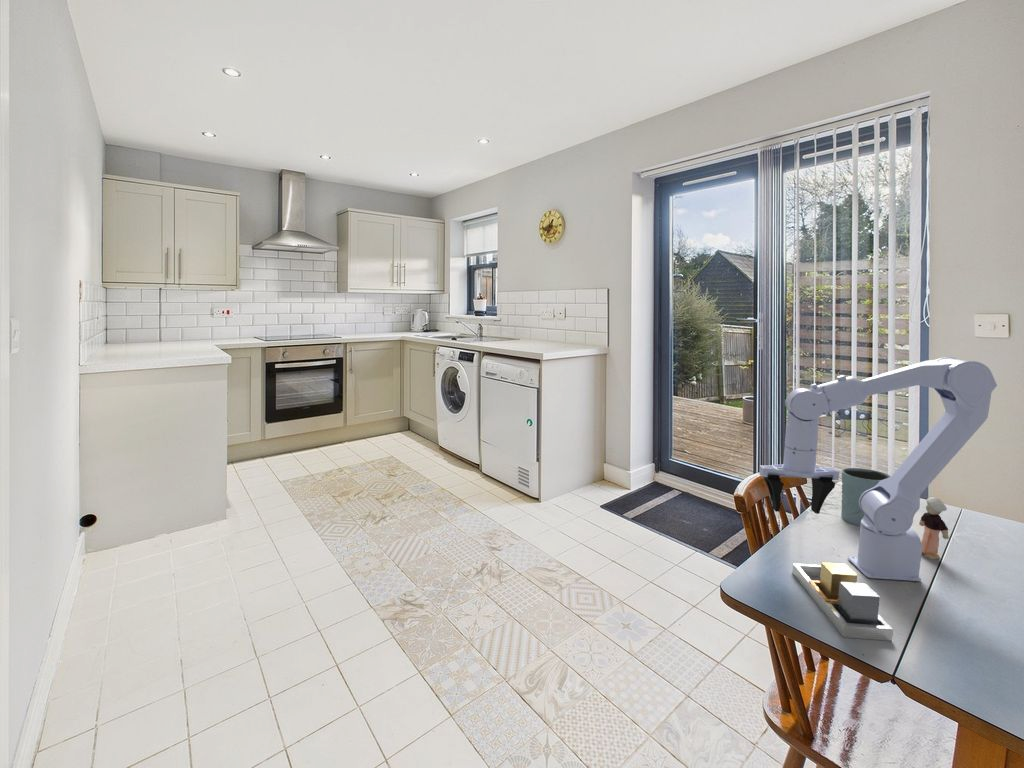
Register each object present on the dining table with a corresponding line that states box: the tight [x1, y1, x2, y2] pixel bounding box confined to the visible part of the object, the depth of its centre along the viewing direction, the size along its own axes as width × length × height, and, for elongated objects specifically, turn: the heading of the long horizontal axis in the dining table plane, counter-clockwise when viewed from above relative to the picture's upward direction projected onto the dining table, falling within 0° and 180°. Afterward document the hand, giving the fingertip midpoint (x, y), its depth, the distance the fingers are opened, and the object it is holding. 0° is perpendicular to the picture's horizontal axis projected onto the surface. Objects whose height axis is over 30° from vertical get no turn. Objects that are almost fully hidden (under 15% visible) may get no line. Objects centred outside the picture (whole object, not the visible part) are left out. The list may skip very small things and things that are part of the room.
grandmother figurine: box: [919, 496, 950, 560], centre depth 104 cm, size 8×4×13 cm, turn 5°
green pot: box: [840, 467, 892, 527], centre depth 122 cm, size 10×10×12 cm
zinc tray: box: [791, 562, 894, 642], centre depth 88 cm, size 7×20×2 cm, turn 172°
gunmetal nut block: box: [837, 582, 881, 625], centre depth 81 cm, size 4×4×6 cm
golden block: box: [819, 561, 858, 600], centre depth 88 cm, size 4×4×6 cm
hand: (795, 510), depth 103 cm, fingers open, 7 cm apart
